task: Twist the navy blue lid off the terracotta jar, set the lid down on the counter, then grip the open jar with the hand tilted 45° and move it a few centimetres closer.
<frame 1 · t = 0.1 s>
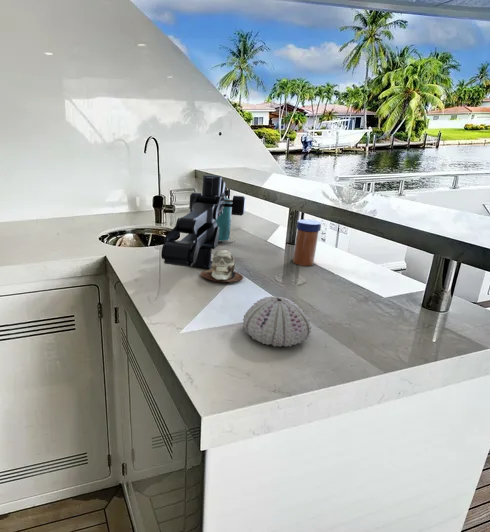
hand: (221, 200, 136), 17 cm above the worktop, tool horizontal, fingers open, 9 cm apart
jar lid: (309, 223, 120), point 13 cm above the worktop, screwed on, not yet turned
sea urchin shell: (273, 335, 79), on the worktop
jar: (302, 262, 124), on the worktop
beverage bottle: (220, 242, 145), on the worktop
skull: (221, 277, 110), on the worktop
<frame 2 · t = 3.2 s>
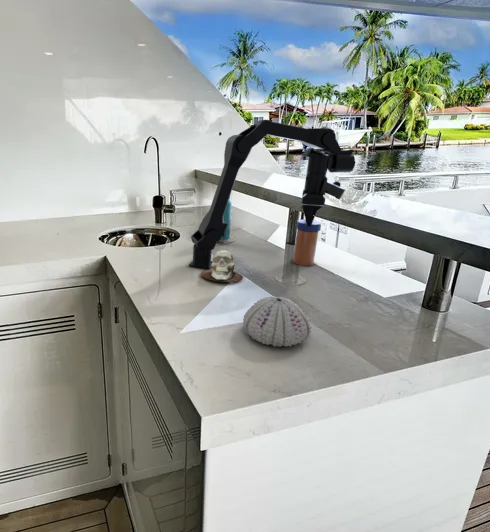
hand: (308, 223, 120), 13 cm above the worktop, tool pointing down, fingers open, 9 cm apart
nothing on the worktop moved.
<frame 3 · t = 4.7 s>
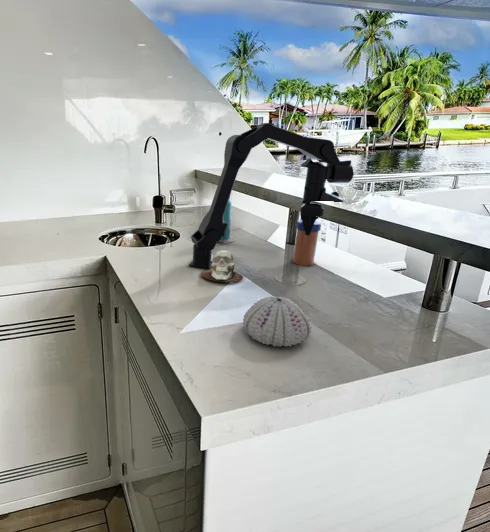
hand: (307, 232, 121), 10 cm above the worktop, tool pointing down, fingers closed on jar lid, 7 cm apart
jar lid: (309, 223, 120), point 13 cm above the worktop, screwed on, not yet turned, touching gripper
everything else where it was.
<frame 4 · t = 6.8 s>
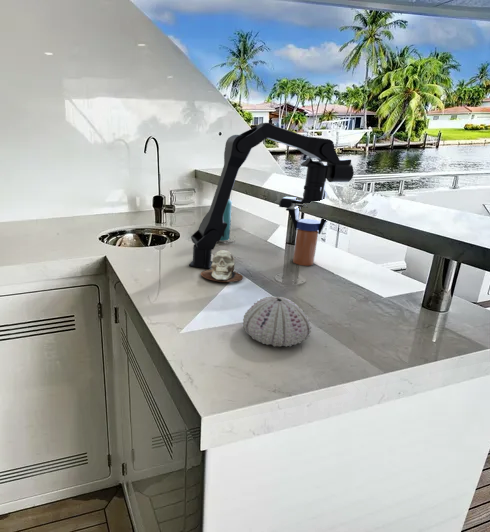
hand: (307, 232, 120), 10 cm above the worktop, tool pointing down, fingers closed on jar lid, 7 cm apart
jar lid: (309, 222, 119), point 13 cm above the worktop, turned 75° so far, risen 0.2 cm, still on its thread, touching gripper
everything else where it was.
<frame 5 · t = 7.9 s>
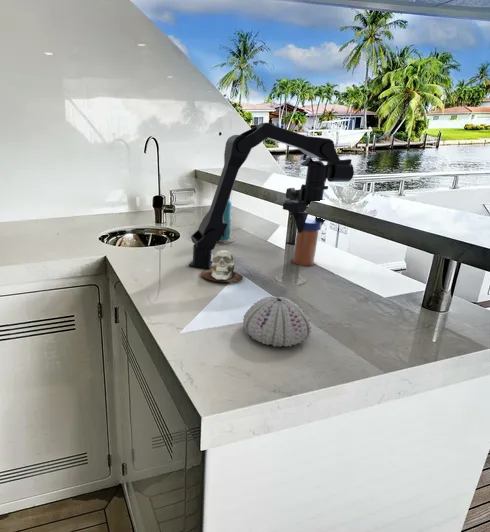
hand: (307, 231, 120), 10 cm above the worktop, tool pointing down, fingers closed on jar lid, 7 cm apart
jar lid: (309, 222, 119), point 13 cm above the worktop, off its thread, touching gripper
everything else where it was.
when the fingers open (0 cm above the worktop, at t = 15.6 s): jar lid drops 1 cm, point 2 cm above the worktop.
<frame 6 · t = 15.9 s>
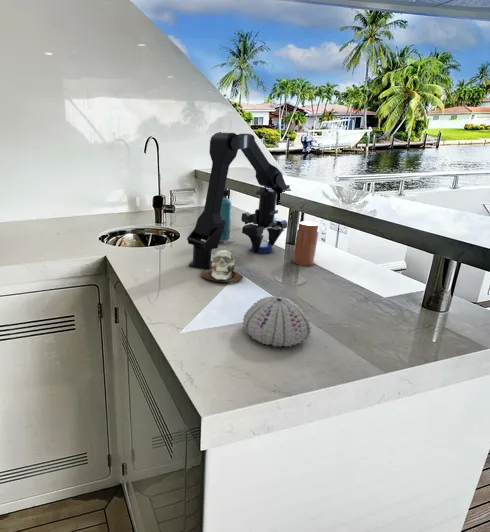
hand: (262, 250, 136), 0 cm above the worktop, tool pointing down, fingers open, 8 cm apart
jar lid: (262, 245, 135), point 2 cm above the worktop, off its thread
everything else where it was.
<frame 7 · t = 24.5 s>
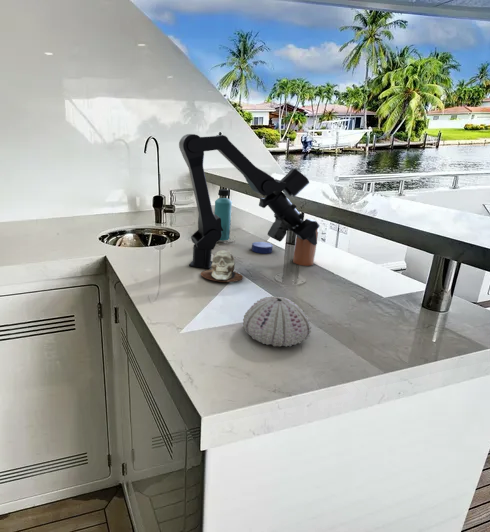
hand: (310, 241, 122), 7 cm above the worktop, tool tilted 45°, fingers closed on jar, 6 cm apart
jar: (302, 262, 124), on the worktop, touching gripper
everything else where it was.
when the fingers open (7 cm above the worktop, at t = 28.3 s): jar stays where it is, on the worktop.
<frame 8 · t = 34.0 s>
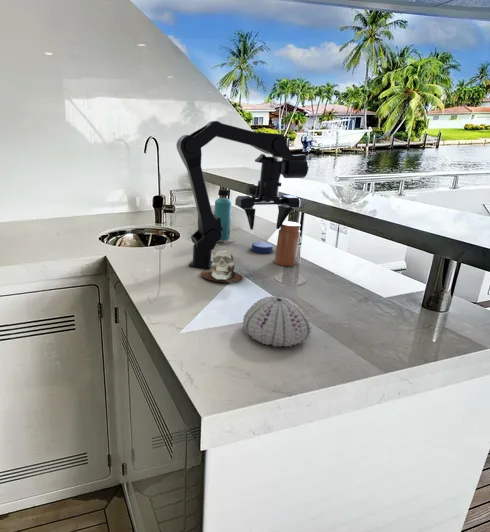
hand: (264, 229, 118), 11 cm above the worktop, tool pointing down, fingers open, 8 cm apart
jar: (284, 262, 123), on the worktop, touching gripper
everything else where it was.
at the end: jar lid inside the target area (0.0 cm from its centre), point 1.9 cm above the worktop; the gripper is holding nothing; jar moved 6.3 cm from its start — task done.
